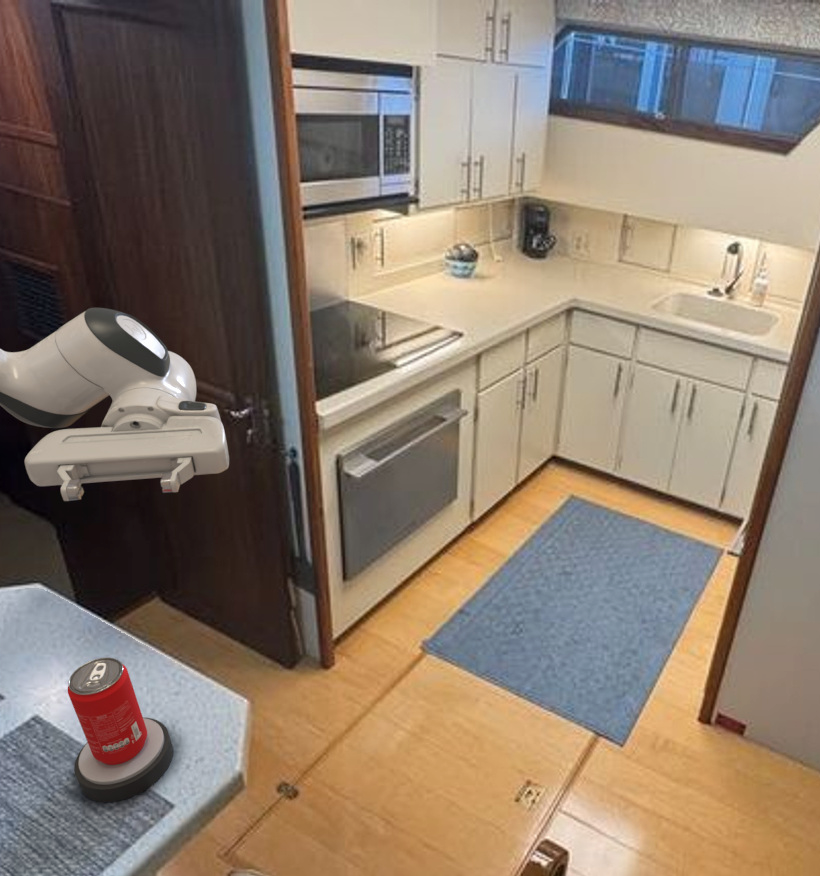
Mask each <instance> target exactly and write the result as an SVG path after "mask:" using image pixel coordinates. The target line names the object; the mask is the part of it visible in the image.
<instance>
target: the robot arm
mask: <svg viewBox="0 0 820 876" xmlns="http://www.w3.org/2000/svg"><path fill="white" fill-rule="evenodd" d="M109 396H110V398H111V401H112V402H111V404H110V406H109V408H108V410H107V413H106V414H105V416H104V419H103V420H102V423H101V426H99V427H98V426H97V427H79V428H67V427H70V426H71V425H73V424H74V423H76V421H78V420H79V419H80V418H81V417H82V416H84V415H85V414H87V412H89V411H90V410H91V409H92V408H93V407H94V406H96V405H97V404H99V403H100V402H102V401H103V400H105V399H106V398H108V397H109ZM196 399H197V380H196V376H195V373H194V370H193V368H192V366H191V365H190V364H189V363H188V362H187V361H186V359H185V358H183V357H182V356H180V355H179V354H177V353H175V352H173V351H171V350H168V348H167V346H166V345H165V343H164V342H163V341H162V340H161V339H160V337H159V336H158V335H157V334H156V333H155V332H154V331H153V330H152V329H151V328H150V327H149V326H147V324H145V323H144V322H142V321H141V320H139V319H138V318H136V316H134V315H131V314H129V313H125V312H123V311H119V310H116V309H111V308H106V307H90V308H87V309H86V310H85V311H83V312H81V313H79V314H78V315H77V316H75V317H73V318H72V319H71V320H69V321H67V322H66V323H65V324H63V325H62V326H60V327H58V329H56V330H55V331H54V332H52V333H50V334H49V335H48V336H46V337H45V338H43V339H41V340H40V341H39V342H37V343H35V344H34V345H33V346H31V347H30V348H28V349H26V350H21V351H13V352H11V351H6V350H3V349H2V348H0V407H1V408H3V409H4V410H5V411H6V412H7V413H9V414H10V415H12V417H14V418H15V419H17V420H18V421H20V422H23V423H25V424H27V425H30V426H34V427H41V428H48V429H58V430H55V431H52V432H50V433H47V434H46V435H45V436H44V437H42V438H41V439H40V440H39V441H38V442H37V443H36V444H35V445H34V446H33V447H32V448H31V450H30V451H29V452H28V453H27V455H26V456H25V458H24V466H25V470H26V474H27V475H28V478H29V480H30V481H31V482H32V483H33V484H34V485H36V486H37V487H51V486H52V487H53V486H60V495H61V497H62V500H63V502H71V501H72V502H73V501H80V500H82V497H83V495H84V493H85V490H84V487H83V486H82V484H92V483H104V482H118V481H119V482H120V481H132V480H146V479H157V478H158V479H159V478H160V487H161V492H162V493H163V494H166V493H167V494H168V493H169V494H170V493H178V492H179V490H180V487H181V485H183V484H185V483H186V482H187V481H189V480H191V479H192V478H193V477H194V476H201V475H212V474H213V475H215V474H216V475H217V474H220V473H221V474H222V473H223V472H225V471H227V470H228V469H229V466H230V455H229V454H230V453H229V448H228V442H227V436H226V432H225V428H224V424H223V422H222V419H221V414H220V413H219V412H220V411H219V409H218V406H217V405H216V404H214V403H210V402H202V401H196ZM62 428H65V429H62Z"/></svg>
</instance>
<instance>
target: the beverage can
mask: <svg viewBox="0 0 820 876" xmlns="http://www.w3.org/2000/svg"><path fill="white" fill-rule="evenodd" d="M67 682H68V686H67V694H68V697H69V700H70V702H71V704H72V707H73V709H74V711H75V712H74V713H75V714H76V718H77V719H78V722H79V725H80V727H81V729H82V732H83V734H84V737H85V739H86V743H87V742H88V744H89V747H90V749H91V752H92V754H93V756H94V758H95V759H97V760H98V761H101V762H102V763H104V764H106V765H119V764H123V763H125V762H128V761H129V760H131V759H133V758H134V757H135V756H137V755H138V754H139V753H140V752H141V750H142V749H143V747H144V745H145V740H146V738H147V729H146V726H145V723H144V720H143V718H144V717H143V713H142V711H141V707H140V705H139V701H138V698H137V695H136V692H135V689H134V686H133V683H132V680H131V677H130V673H129V671H128V668H127V667H126V666H125V664H123V663H122V662H121V661H120V660H119V659H118V658H114V657H101V658H96V659H93V660H90V661H88V662H85V663H84V664H82V665H80V666H78V668H76V669H75V670H74V671H73V672H72V674H71V675H70V677H69V679H68V681H67Z"/></svg>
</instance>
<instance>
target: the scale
mask: <svg viewBox="0 0 820 876" xmlns="http://www.w3.org/2000/svg"><path fill="white" fill-rule="evenodd" d="M143 720H144V723H145V726H146V729H147V738H146V740H145V745H144V747H143V749H142V750H141V752H140V753H139V754H138V755H137V756H135V757H134V758H133V759H131V760H129V761H128V762H125V763H123V764H119V765H106V764H104V763H102V762H101V761H98V760H97V759H95V758H94V756H93V754H92V752H91V749H90V747H89V744H88V742H87V741H86V743H85V744H84V745H83V746H82V748H81V749H80V750H79V752H78V754H77V756H76V759H75V762H74V767H73V768H74V769H73V771H74V776H75V778H76V780H77V783H78V785H79V787H80V789H81V792H82V793H83V794H84V795H85V796H86V798H89V799H90V800H92V801H96V802H99V803H113V802H114V803H115V802H120V801H125V800H128V799H130V798H133V797H136V796H138V795H139V794H141V793H143V792H144V791H146V790H148V789H149V788H150V787H153V785H154V784H155V783H157V782H158V781H159V780H160V779H161V778H162V777H163V775H165V773H166V771H167V770H168V768H169V767H170V764H171V762H172V760H173V756H174V746H173V742H172V740H171V735H170V732H169V730H168V728H167V727H166V726H165V724H163V723H162V722H161V721H159V720H157V719H155V718H150V717H143Z"/></svg>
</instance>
